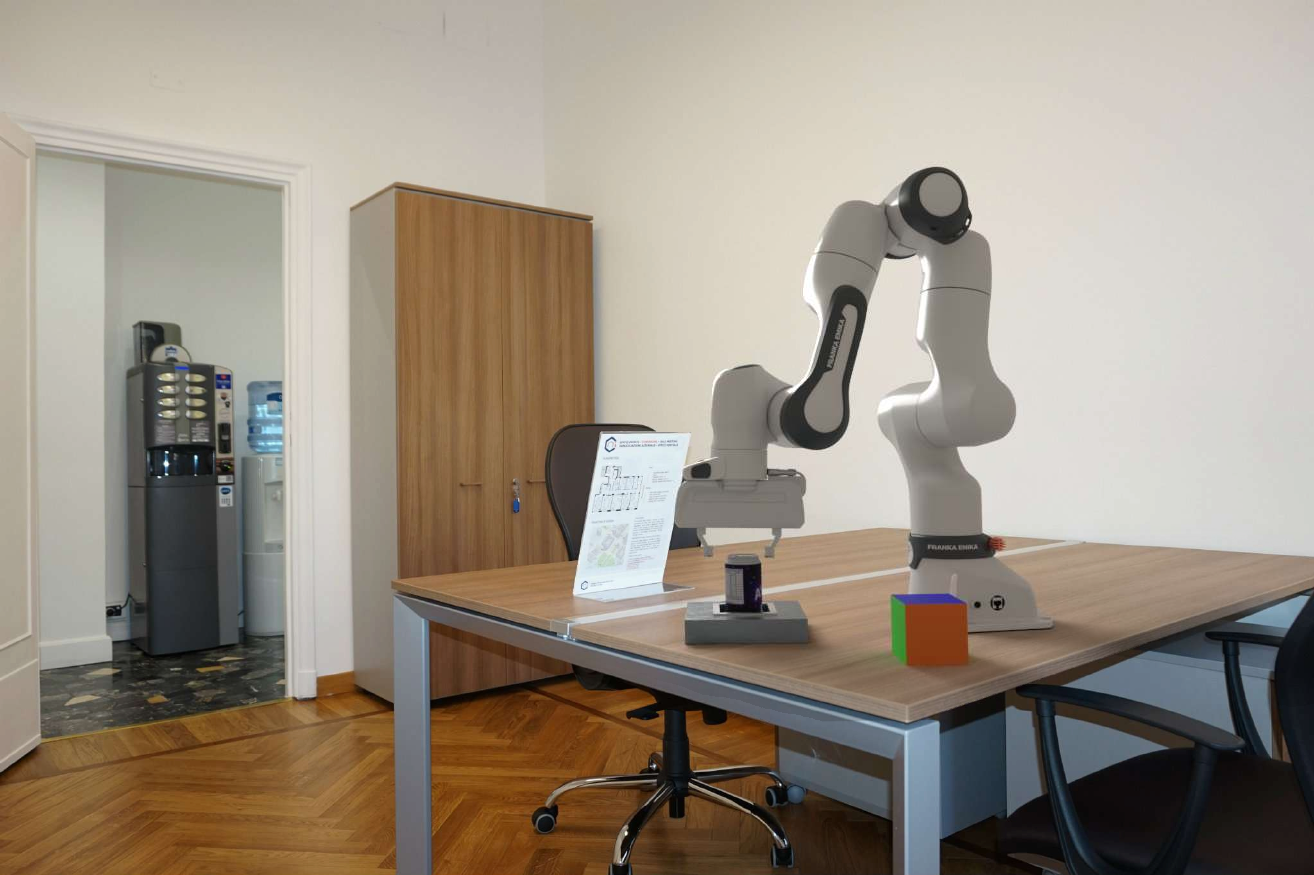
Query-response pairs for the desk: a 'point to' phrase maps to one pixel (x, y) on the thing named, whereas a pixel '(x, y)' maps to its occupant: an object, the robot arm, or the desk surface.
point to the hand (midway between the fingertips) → (738, 557)
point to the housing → (745, 624)
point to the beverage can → (743, 583)
